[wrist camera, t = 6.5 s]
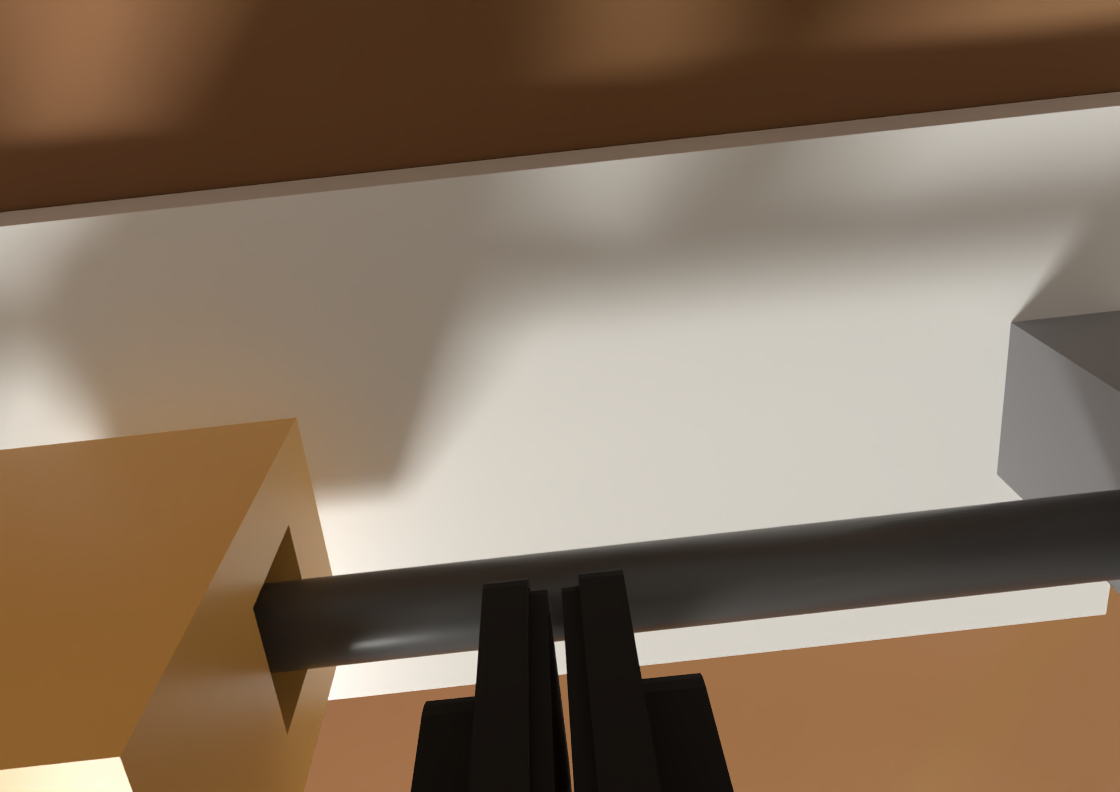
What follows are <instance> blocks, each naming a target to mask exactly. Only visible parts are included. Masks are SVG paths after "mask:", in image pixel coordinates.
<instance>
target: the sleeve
mask: <svg viewBox="0 0 1120 792" xmlns="http://www.w3.org/2000/svg"><path fill="white" fill-rule="evenodd" d="M326 576H333V575H332V571H331V567H330V562H329V558H328V553H327V549H326V545H325V540H324V536H323V532H322V527H321V523H320V518H319V514H318V510H317V505H316V501H315V496H314V492H313V488H312V483H311V479H310V475H309V470H308V466H307V461H306V457H305V453H304V448H303V444H302V439H301V435H300V431H299V426H298V422H297V418H288V419H279V420H270V421H260V422H251V423H242V424H233V425H224V426H215V427H206V428H196V429H187V430H178V431H169V432H160V433H151V434H141V435H132V436H123V437H114V438H105V439H96V440H86V441H77V442H68V443H59V444H50V445H41V446H32V447H22V448H13V449H4V450H0V792H303V791H304V787H305V783H306V780H307V776H308V772H309V768H310V765H311V761H312V757H313V753H314V750H315V746H316V742H317V738H318V734H319V731H320V727H321V723H322V719H323V716H324V712H325V708H326V704H327V701H328V697H329V693H330V689H331V685H332V682H333V678H334V674H335V670H336V667H337V666H332V667H323V668H314V669H305V670H296V671H287V672H278V673H270V670H269V666H268V662H267V659H266V655H265V651H264V647H263V644H262V640H261V636H260V633H259V629H258V625H257V622H256V618H255V614H254V611H253V607H254V604H255V602H256V600H257V597H258V595H259V593H260V590H261V588H262V586H263V583H271V582H280V581H289V580H298V579H307V578H316V577H326Z"/></svg>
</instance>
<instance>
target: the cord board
mask: <svg viewBox="0 0 1120 792" xmlns="http://www.w3.org/2000/svg"><path fill="white" fill-rule="evenodd" d="M288 418H297V422H298V426H299V431H300V435H301V439H302V444H303V448H304V453H305V457H306V461H307V466H308V470H309V475H310V479H311V483H312V488H313V492H314V496H315V501H316V505H317V510H318V514H319V518H320V523H321V527H322V532H323V536H324V540H325V545H326V549H327V553H328V558H329V562H330V567H331V571H332V575H333V576H326V577H316V578H307V579H298V580H289V581H280V582H271V583H263V586H262V588H261V590H260V593H259V595H258V597H257V600H256V602H255V604H254V607H253V611H254V614H255V618H256V622H257V625H258V629H259V633H260V636H261V640H262V644H263V647H264V651H265V655H266V659H267V662H268V666H269V670H270V673H278V672H287V671H296V670H305V669H314V668H323V667H332V666H337V667H336V670H335V674H334V678H333V682H332V685H331V689H330V693H329V697H328V700H336V699H345V698H354V697H363V696H372V695H381V694H390V693H399V692H408V691H417V690H426V689H435V688H444V687H453V686H462V685H471V684H476V675H477V661H478V646H479V632H480V618H481V604H482V590H483V584H484V583H488V582H497V581H507V580H517V579H526V578H528V579H529V582H530V588H531V590H538V589H547V590H548V596H549V604H550V612H551V620H552V628H553V637H554V645H555V653H556V661H557V669H558V675H562V674H567V669H566V653H565V637H564V621H563V606H562V590H561V587H567V586H576V585H579V580H578V573H584V572H593V571H603V570H613V569H622V570H623V574H624V580H625V586H626V591H627V597H628V603H629V609H630V614H631V620H632V626H633V632H634V637H635V643H636V649H637V655H638V660H639V666H643V665H652V664H661V663H670V662H679V661H688V660H697V659H706V658H715V657H724V656H733V655H742V654H751V653H760V652H770V651H779V650H788V649H797V648H806V647H815V646H824V645H833V644H842V643H851V642H860V641H869V640H878V639H887V638H896V637H905V636H914V635H923V634H932V633H941V632H950V631H959V630H968V629H977V628H986V627H996V626H1005V625H1014V624H1023V623H1032V622H1041V621H1050V620H1059V619H1068V618H1077V617H1086V616H1095V615H1104V614H1106V609H1107V603H1108V596H1109V590H1110V585H1111V586H1112V587H1113V588H1114V589H1115V590H1116V591H1117V592H1118V593H1119V594H1120V92H1111V93H1101V94H1092V95H1083V96H1074V97H1064V98H1055V99H1046V100H1037V101H1027V102H1018V103H1009V104H1000V105H990V106H981V107H972V108H963V109H953V110H944V111H935V112H926V113H916V114H907V115H898V116H889V117H879V118H870V119H861V120H852V121H842V122H833V123H824V124H815V125H805V126H796V127H787V128H777V129H768V130H759V131H750V132H740V133H731V134H722V135H713V136H703V137H694V138H685V139H676V140H666V141H657V142H648V143H639V144H629V145H620V146H611V147H602V148H592V149H583V150H574V151H565V152H555V153H546V154H537V155H528V156H518V157H509V158H500V159H491V160H481V161H472V162H463V163H454V164H444V165H435V166H426V167H416V168H407V169H398V170H389V171H379V172H370V173H361V174H352V175H342V176H333V177H324V178H315V179H305V180H296V181H287V182H278V183H268V184H259V185H250V186H241V187H231V188H222V189H213V190H204V191H194V192H185V193H176V194H167V195H157V196H148V197H139V198H130V199H120V200H111V201H102V202H93V203H83V204H74V205H65V206H55V207H46V208H37V209H28V210H18V211H9V212H0V450H4V449H13V448H22V447H32V446H41V445H50V444H59V443H68V442H77V441H86V440H96V439H105V438H114V437H123V436H132V435H141V434H151V433H160V432H169V431H178V430H187V429H196V428H206V427H215V426H224V425H233V424H242V423H251V422H260V421H270V420H279V419H288Z"/></svg>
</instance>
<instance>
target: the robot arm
mask: <svg viewBox="0 0 1120 792" xmlns="http://www.w3.org/2000/svg"><path fill="white" fill-rule="evenodd" d="M578 580H579V585H576V586H567V587H561V590H562V606H563V621H564V637H565V653H566V669H567V684H568V700H569V716H570V731H571V747H572V763H573V778H574V792H734V791H733V787H732V784H731V780H730V776H729V772H728V769H727V765H726V761H725V757H724V754H723V750H722V746H721V742H720V739H719V735H718V731H717V727H716V723H715V720H714V716H713V712H712V708H711V705H710V701H709V697H708V693H707V690H706V686H705V683H704V680H703V677H702V675H701V673H697V674H687V675H677V676H667V677H658V678H648V679H642V678H641V672H640V666H639V660H638V655H637V649H636V643H635V637H634V632H633V626H632V620H631V614H630V609H629V603H628V597H627V591H626V586H625V580H624V574H623V570H622V569H613V570H603V571H593V572H584V573H578ZM411 792H572V789H571V777H570V767H569V758H568V750H567V742H566V733H565V725H564V717H563V709H562V701H561V693H560V685H559V677H558V669H557V661H556V653H555V645H554V637H553V628H552V620H551V612H550V604H549V596H548V590H547V589H538V590H531V588H530V582H529V579H528V578H526V579H517V580H507V581H497V582H488V583H484V584H483V590H482V604H481V618H480V632H479V646H478V661H477V675H476V689H475V696H474V697H464V698H455V699H445V700H435V701H427V702H426V703H425V705H424V708H423V712H422V717H421V724H420V731H419V738H418V745H417V752H416V759H415V766H414V773H413V780H412V787H411Z"/></svg>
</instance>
